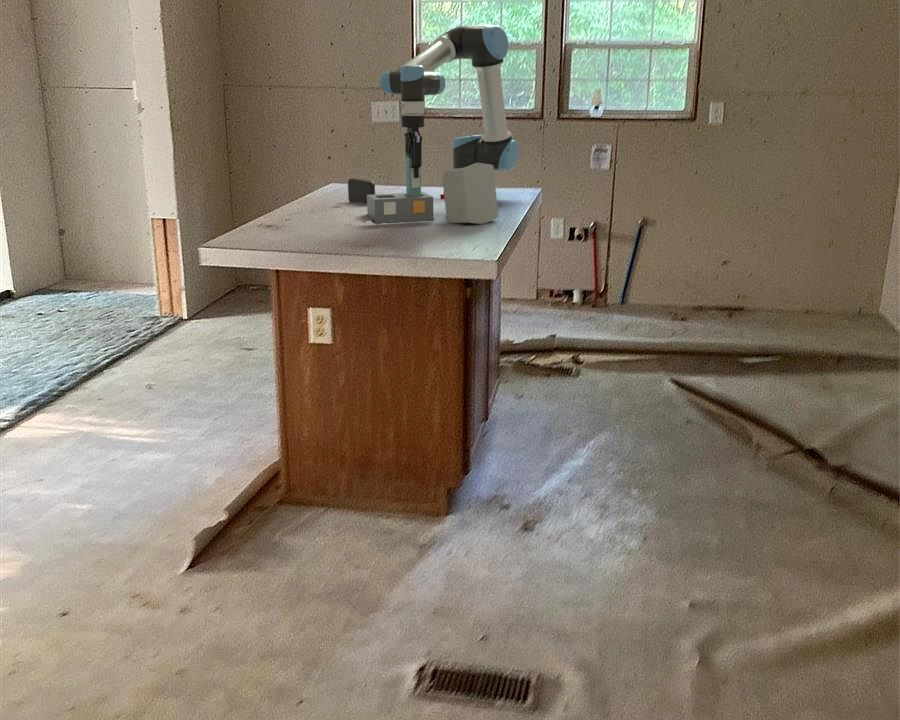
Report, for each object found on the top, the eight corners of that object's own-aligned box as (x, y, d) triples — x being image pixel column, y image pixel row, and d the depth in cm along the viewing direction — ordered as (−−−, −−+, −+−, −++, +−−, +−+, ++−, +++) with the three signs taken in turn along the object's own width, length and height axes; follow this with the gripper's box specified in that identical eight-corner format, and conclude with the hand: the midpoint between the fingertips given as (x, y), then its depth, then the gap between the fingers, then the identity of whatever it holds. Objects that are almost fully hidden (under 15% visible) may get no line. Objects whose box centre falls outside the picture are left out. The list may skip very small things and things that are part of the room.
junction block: (423, 215, 310) (423, 192, 308) (433, 221, 299) (433, 197, 296) (367, 218, 305) (366, 194, 302) (375, 224, 293) (374, 199, 291)
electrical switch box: (467, 222, 309) (461, 164, 305) (498, 221, 298) (493, 160, 294) (437, 227, 299) (430, 167, 295) (468, 226, 289) (462, 164, 285)
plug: (418, 195, 303) (417, 153, 299) (421, 196, 300) (420, 154, 295) (406, 195, 302) (405, 153, 298) (409, 197, 298) (408, 154, 294)
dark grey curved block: (382, 207, 328) (381, 181, 325) (371, 208, 326) (371, 182, 323) (357, 202, 340) (356, 177, 337) (347, 203, 338) (346, 178, 334)
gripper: (395, 113, 299) (396, 184, 307) (408, 116, 284) (409, 190, 291) (417, 113, 301) (417, 183, 309) (431, 115, 286) (431, 189, 293)
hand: (413, 186), depth 300 cm, fingers closed on plug, 4 cm apart
